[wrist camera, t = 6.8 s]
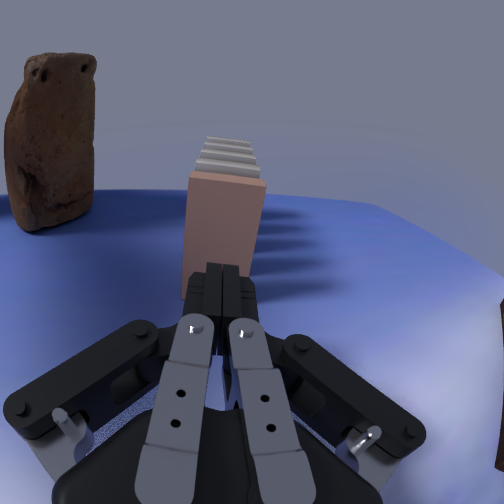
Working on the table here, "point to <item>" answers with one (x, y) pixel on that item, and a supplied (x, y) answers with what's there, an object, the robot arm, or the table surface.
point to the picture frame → (503, 451)
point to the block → (51, 141)
